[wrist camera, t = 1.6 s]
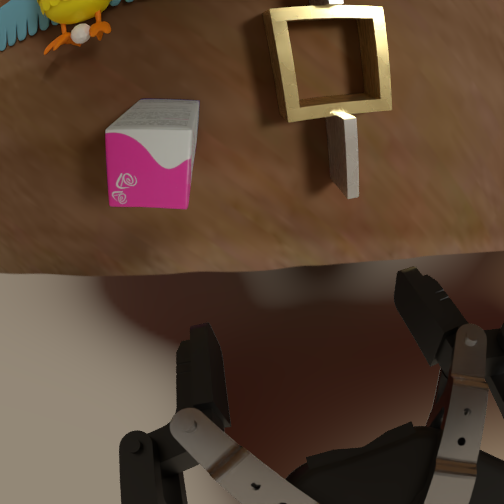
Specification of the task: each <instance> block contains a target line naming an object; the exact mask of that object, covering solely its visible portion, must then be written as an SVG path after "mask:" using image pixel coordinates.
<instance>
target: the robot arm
mask: <svg viewBox="0 0 504 504" xmlns="http://www.w3.org/2000/svg"><path fill="white" fill-rule="evenodd" d="M394 302H395V306H396V308H397V310H398V312H399V314H400V315H401V317H402V318H403V320H404V322H405V323H406V325H407V327H408V328H409V330H410V332H411V333H412V335H413V337H414V339H415V340H416V342H417V344H418V346H419V347H420V349H421V351H422V353H423V354H424V356H425V358H426V360H427V362H428V363H429V365H430V366H433V365H435V364H437V363H439V365H440V366H441V369H440V372H439V377H438V382H437V387H436V392H435V397H434V402H433V406H432V410H431V412H430V414H429V417H428V420H427V422H426V426H415V427H413V424H412V422H409V423H407V424H404V425H402V426H399V427H397V428H394V429H392V430H389V431H387V432H385V433H384V434H383V435H381V436H380V437H378V438H377V439H375V440H374V441H372V442H371V443H369V444H367V445H366V446H364V447H361V448H350V449H337V450H331V451H327V452H324V453H320V454H317V455H313V456H309V457H306V459H307V463H305V464H303V465H301V466H299V467H298V468H296V469H295V470H294V471H293V472H292V473H290V474H289V475H288V477H287V478H286V479H284V478H282V477H281V476H279V475H278V474H277V473H275V472H274V471H273V470H272V469H270V468H269V467H268V466H266V465H265V464H264V463H262V462H261V461H260V460H258V459H257V458H256V457H255V456H254V455H252V454H251V453H250V452H249V451H247V450H246V449H245V448H243V447H242V446H240V445H238V444H237V443H236V442H235V441H234V440H232V439H231V438H230V437H229V436H228V435H227V434H226V433H224V428H225V427H230V426H231V422H230V414H229V406H228V398H227V390H226V382H225V373H224V364H223V356H222V351H221V348H220V345H219V343H218V341H217V338H216V336H215V334H214V332H213V330H212V328H211V326H210V324H209V323H208V322H207V323H203V324H199V325H194V326H191V327H190V340H186V341H182V342H181V343H180V346H179V348H178V350H177V352H176V354H177V355H176V356H177V357H176V364H177V366H176V373H177V375H176V378H177V379H176V385H177V386H176V389H177V390H176V391H177V409H176V413H175V415H174V416H173V418H172V419H171V421H170V422H169V423H168V424H167V425H165V426H163V427H162V428H159V429H157V430H155V431H153V432H151V433H148V434H146V433H145V432H142V431H132V432H129V433H128V434H126V435H125V436H124V437H123V438H122V440H121V442H120V446H119V462H120V488H121V504H187V497H186V490H185V483H184V477H183V471H185V470H187V469H190V468H192V467H194V466H196V465H198V464H200V465H201V466H202V467H203V468H204V469H206V470H207V472H208V473H209V474H210V476H211V477H212V478H214V479H215V481H216V482H217V483H219V484H220V485H221V486H222V487H223V488H224V489H225V490H226V491H227V492H228V493H230V494H231V495H232V496H233V497H234V498H235V499H236V500H238V501H239V502H240V503H241V504H504V461H503V460H501V459H499V458H496V457H494V456H492V455H490V454H488V453H486V452H484V451H482V450H479V449H480V444H481V439H482V433H483V428H484V421H485V415H486V407H487V399H488V389H490V391H491V393H492V395H493V397H494V399H495V401H496V403H497V405H498V407H499V409H500V412H501V414H502V416H503V418H504V323H503V325H502V327H501V328H500V329H492V330H483V329H482V328H480V327H479V326H477V325H475V324H469V323H468V322H467V321H466V319H465V318H464V317H463V316H462V314H461V313H460V311H459V310H458V308H457V307H456V306H455V304H454V303H453V302H452V300H451V299H450V298H449V297H448V295H447V294H446V292H445V291H443V288H442V287H441V286H440V284H439V283H438V282H437V281H436V280H435V279H433V278H431V277H430V276H428V275H424V276H422V274H421V273H420V272H419V271H418V269H417V268H416V267H410V268H407V269H404V270H400V271H398V273H397V277H396V285H395V292H394ZM484 379H485V381H486V382H485V381H484Z"/></svg>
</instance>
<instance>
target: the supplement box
mask: <svg viewBox="0 0 504 504" xmlns="http://www.w3.org/2000/svg"><path fill="white" fill-rule="evenodd" d="M199 103H200V101H199V100H181V99H140V100H139V101H138V102H137V103H136V104H134V105H133V106H132V107H131V108H130V109H128V110H127V111H126V112H125V113H124V114H123V115H121V116H120V117H119V118H118V119H117V120H116V121H115V122H113V123H112V124H111V125H110V126H109V127H108V128H107V129H106V130H105V143H106V167H107V182H108V194H109V205H110V206H113V207H154V208H173V209H187V208H188V203H189V195H190V186H191V178H192V170H193V164H194V156H195V150H196V141H197V131H198V119H199Z"/></svg>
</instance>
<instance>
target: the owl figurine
mask: <svg viewBox="0 0 504 504" xmlns="http://www.w3.org/2000/svg"><path fill="white" fill-rule="evenodd" d="M120 1H121V0H11V1H9V2H8V3H6V4H5V5H3V6H2V7H1V8H0V51H3V50H4V49H5V48H6V43H7V39H8V45H9V46H12V45H14V43H15V42H16V31H17V35H18V39H19V40H20V41H22V40H24V39H25V37H26V34H27V22H28V32H29V35H34V34H35V33H36V32H37V29H38V15H39V25H40V29H41V30H46V29H47V28H48V27H49V23H50V20H51V23H52V24H53V25H58V24H61V30H62V35H60V36H59V37H57V38H56V39H55V40H53V41H52V42H51V43H50V44H49V45H48V46H47V47H46V49H45V50H44V55H46V54H47V53H48V52H49V51H50V50H51V49H52V48H53V51H54V50H56V49H58V47H59V46H60V45H62V44H72V45H75V46H79V47H80V46H81V43H84V42H86V41H88V40H89V38H90V37H95V36H97V38H98V40H101V39H102V36H103V33H107V34H109V33H110V32H111V26H110V24H109V23H108V22H106V21H103V22H101V13H102V12H103V11H104V10H105V9H106V8H107V6H108V5H109V3H110V5H111V6H116V5H118V4H119V3H120ZM125 1H126V2H132V1H134V0H125ZM93 17H95V18H96V23H95V24H92V25H91V27H90V26H89V25H87V24H86V23H85V24H79V25H77V26H75V27H74V28H73V30H72V31H71V33H70V32H67V31H66V24H75V23H80V22H83V21H86V20H89V19H91V18H93Z"/></svg>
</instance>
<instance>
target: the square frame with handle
mask: <svg viewBox="0 0 504 504" xmlns="http://www.w3.org/2000/svg"><path fill="white" fill-rule="evenodd" d="M309 4H310V6H299V7H285V8H274V9H269V10H267V11H265V12H264V13H262V15H263V21H264V26H265V31H266V36H267V42H268V47H269V53H270V58H271V64H272V70H273V76H274V82H275V88H276V94H277V100H278V106H279V113H280V115H281V116H282V117H283V118H284V119H285V120H286V121H287V122H288V123H289V122H295V121H301V120H308V119H315V118H322V117H325V119H326V130H327V141H328V153H329V167H330V179H331V180H332V181H333V182H334V183H335V184H336V186H337V187H338V188H339V189H340V190H341V192H342V193H343V194H344V195H345V196H346V198H347V199H351V198H356V197H359V168H358V139H357V121H356V117H354V116H352V115H350V114H355V113H365V112H375V111H388V110H392V101H391V81H390V67H389V55H388V45H387V36H386V27H385V20H384V12H383V7H375V6H351V5H340V4H343V0H309ZM312 20H356V21H357V28H358V35H359V43H360V51H361V60H362V70H363V81H364V93H355V94H344V95H334V96H325V97H316V98H308V99H301V100H299V97H298V90H297V83H296V76H295V69H294V63H293V57H292V50H291V44H290V39H289V33H288V27H287V22H297V21H312Z"/></svg>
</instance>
